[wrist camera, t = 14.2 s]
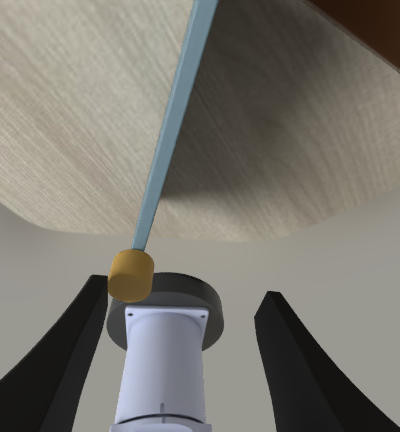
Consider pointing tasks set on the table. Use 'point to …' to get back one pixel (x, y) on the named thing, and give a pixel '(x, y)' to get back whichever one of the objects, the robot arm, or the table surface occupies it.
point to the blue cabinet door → (162, 160)
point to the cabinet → (366, 24)
